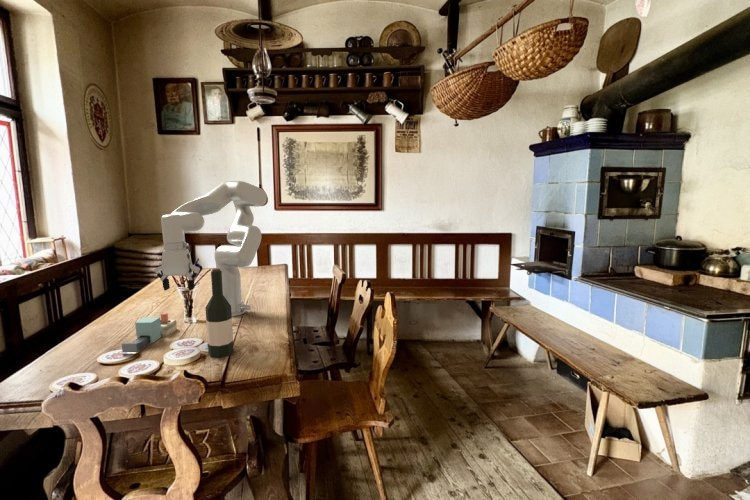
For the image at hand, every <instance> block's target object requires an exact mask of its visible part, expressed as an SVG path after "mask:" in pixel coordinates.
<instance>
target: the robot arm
mask: <svg viewBox="0 0 750 500" xmlns="http://www.w3.org/2000/svg"><path fill="white" fill-rule="evenodd" d="M267 198H268V197H267V193H266V192H265V190H264V189H262V188H260V187H258V186H256V185H254V184H251V183H249V182H247V181H241V180H227V181H223V182H220V184H219V185H217V186H216V187H214V188H212V189H211V191H209V192H208V193H206V194H205V195H203V196H200V197H197V198H195V199H194V200H193V199H192V200H191V201H188V202H186V203H184V204H182V205H180V206H179V207H178V208H175V210H174V211H172V212H171V213H168V214H164V215H162V216H161V217H160V221H161V231H162V240H163V250H162V255H161V265H160V266H158V267H156V268H154V269H153V270H154V273H155V274H156V275H157V277H158V278H159V279H160V281H162V288H163V291H168V290H169V289H170V288H171V287H170V280H169V279H170V278H168V277H169V276H170V277H175V276H176V277H177V276H178V277H179V276H180V277H182V276H185V277H186V278H188V280H187V285H188V287H187V288H188V290H189V291H192V290H194V288H195V278H196V277H197V276H198V275H199V273H200V271H201V267H198V266H196V265H194V264H193V262H192V258H191V257H192V256H191V253H190V251H189V249H188V247H189V246H190V244H189V243H188V242H186V238H185V237H186V236H185V232H197V231H200V230H201V229H203V228H204V225H205V218H204V217H203V216H208V215H213V214H216V213H218V212H220V211H221V210H222V209H224V208H225V207H226V206H227V205H228V204H230V203H231V202H233V205H234V208H235V216H234V218H233V220H232V223H231V225H230V227H229V229H228V231H227V234H226V241H227V243H229V244H222V245H220V246H218V247H217V248H216V249H215V252H214V261H215V264H216V268H220V270H221V271H222V287H223V296H224V297H225V298H226V300H227V301H228V302H229V304H230V305H231V312H232V317H237V316H241V315H243V314H245V313H246V312H247V311H248V310H249V311H251V309H252V306H251V304H245V303H244V302H245V301H242V300H243V299H242V279H241V278H242V277H241V272H240V269H239V268H248V267H250V265H251V264H252V263H253V262H254V259H255V257H256V254H257V251H258V249H259V248H260V245H261V241H262V232H261V229H260V228H259V227H258V226H255V225H253V224H254V221H255V220H254V219H255V218H254V213H253V211H252V209H251V207H255V208H256V207H258V208H259V207H262V206H264V205H265V204H266V203H267ZM193 271H194V273H193ZM246 310H247V311H246Z"/></svg>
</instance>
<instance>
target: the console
mask: <svg viewBox="0 0 750 500" xmlns="http://www.w3.org/2000/svg"><path fill="white" fill-rule="evenodd" d="M160 323H161V330H160V332H161V337H168V336H170V335H171V334H173V333H174V332H175V331H177V326H178V325H177V319H168V322H161V319H160ZM173 331H174V332H173ZM170 333H171V334H170ZM167 335H168V336H167Z"/></svg>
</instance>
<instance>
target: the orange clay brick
mask: <svg viewBox="0 0 750 500" xmlns="http://www.w3.org/2000/svg"><path fill="white" fill-rule="evenodd" d="M160 320H161V322H168V320H169V313H167V312H166V313H165V312H164V313H163V312H162V313H160Z"/></svg>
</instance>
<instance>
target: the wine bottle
mask: <svg viewBox="0 0 750 500" xmlns="http://www.w3.org/2000/svg"><path fill="white" fill-rule="evenodd" d="M210 278H211V280H210V281H211V297H210V299H209V301H208V302H207V305H206V306H205V321H206V338H207V350H208V351H207V352H208V354H207V355H208V356H209V357H210V358H214V359H215V358H218V359H219V358H223V357H224V358H225V357H228V356H229V357H230V356H231V355H232V354H233V353H234V352H235V351H234V350H235V349H234V333H233V331H234V330H233V316H232V312H231V305H230V304H229V302H228V301H227V300H226V298H225V297H224V296H223V287H222V271H221V270H220V268H217V267H216V268H215V267H213V268H212V269H211V271H210Z"/></svg>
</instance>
